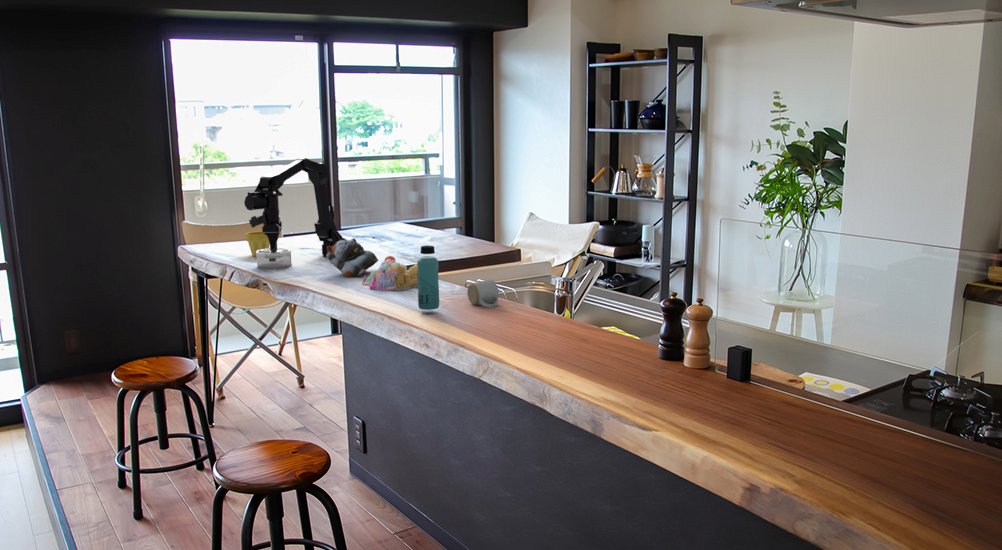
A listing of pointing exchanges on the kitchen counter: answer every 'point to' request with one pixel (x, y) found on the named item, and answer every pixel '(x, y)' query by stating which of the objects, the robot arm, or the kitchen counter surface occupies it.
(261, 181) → the robot arm
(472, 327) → the kitchen counter surface
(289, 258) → the pot
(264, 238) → the plant pot
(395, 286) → the pastel plush toy
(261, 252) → the lid
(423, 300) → the beverage bottle
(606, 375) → the kitchen counter surface
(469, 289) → the ceramic mug
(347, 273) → the grey teddy bear
